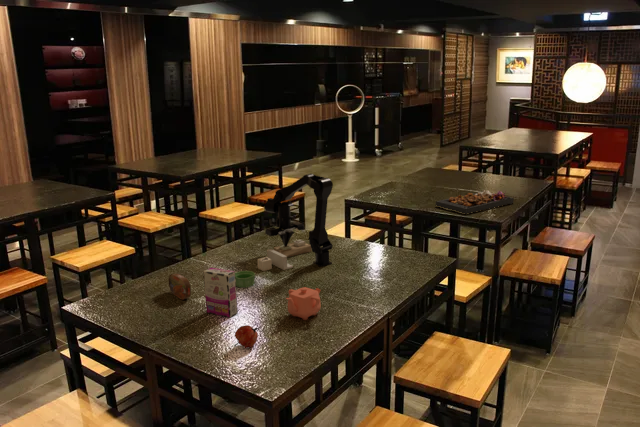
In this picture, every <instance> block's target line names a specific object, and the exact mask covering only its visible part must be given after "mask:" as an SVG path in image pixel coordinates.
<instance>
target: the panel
mask: <svg viewBox="0 0 640 427" xmlns="http://www.w3.org/2000/svg"><path fill="white" fill-rule="evenodd" d="M288 245H289V246H291V249H287V250H282V249H280V246H281V245H278V246H275V247H273V250H275V251H277V252H279V253H281V254H283V255H285V256H287V258H291V257H294V256H298V255H301V254H302V255H303V254H306V253H310V252H312V248H311V245H310V243H307V242H305V245H304V246H300V247H297V246H295V245H294V242H292V243H288Z"/></svg>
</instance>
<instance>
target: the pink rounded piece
mask: <svg viewBox="0 0 640 427" xmlns="http://www.w3.org/2000/svg"><path fill="white" fill-rule="evenodd" d="M321 291H322V290H321V289H320V288H318V287H316V288H315V289H312V288H310V287H305V286H304V287H300V288H297V289H296V290H295V289H292V288H291V289H289V290H288V294H289V295H288V297H286V300H287V311H288V313H289V315H290V314H291V315H292V317H297V318H301V319H302V320H303V321H308V319H309V317H311V316H317V315H318V312H319V311H320V310H321V307H322V306H321V303H322V302H321V297H320V294H321Z"/></svg>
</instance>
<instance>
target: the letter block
mask: <svg viewBox="0 0 640 427" xmlns="http://www.w3.org/2000/svg"><path fill="white" fill-rule="evenodd" d="M272 265H273V264H272V262H271V259H269V258H267V256H265V257H260V258H257V268H258V270H261V272H264V271H265V272H266V271H269V270H272V269H273V266H272Z"/></svg>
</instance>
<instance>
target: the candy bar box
mask: <svg viewBox="0 0 640 427" xmlns="http://www.w3.org/2000/svg"><path fill="white" fill-rule="evenodd" d="M202 273H203V283H204V294H205V298H204V299H205V309H206V310H205V311H206V313H208V314H210V315H217V316H221V317H226V318H232V317H234V316H236V315H237V314H238V313H239V312H238V311H239V310H238V309H239V308H238V296H237V295H238V294H237V286H236V278H235V273H236V271H234V270H227V269H223V268H216V267H210V268H207V269H206V270H203V272H202Z"/></svg>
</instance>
